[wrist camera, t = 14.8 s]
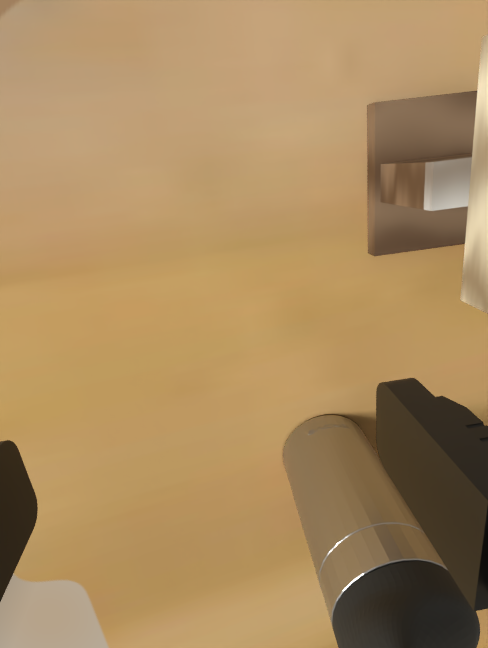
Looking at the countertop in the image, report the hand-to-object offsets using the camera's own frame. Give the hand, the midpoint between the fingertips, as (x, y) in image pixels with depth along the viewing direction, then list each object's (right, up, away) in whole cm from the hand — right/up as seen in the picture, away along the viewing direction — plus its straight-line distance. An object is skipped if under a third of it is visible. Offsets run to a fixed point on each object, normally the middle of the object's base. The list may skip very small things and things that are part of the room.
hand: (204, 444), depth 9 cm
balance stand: (+16, +15, +26) cm, 35 cm away
